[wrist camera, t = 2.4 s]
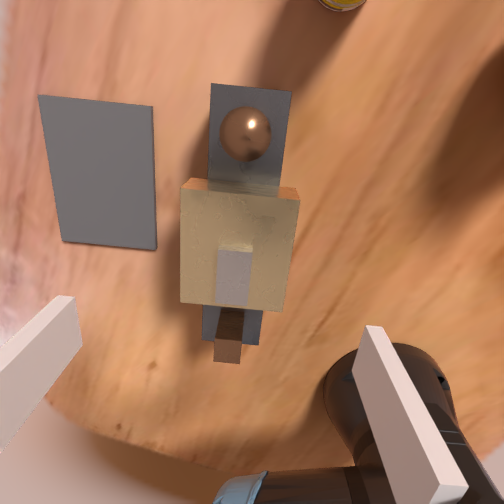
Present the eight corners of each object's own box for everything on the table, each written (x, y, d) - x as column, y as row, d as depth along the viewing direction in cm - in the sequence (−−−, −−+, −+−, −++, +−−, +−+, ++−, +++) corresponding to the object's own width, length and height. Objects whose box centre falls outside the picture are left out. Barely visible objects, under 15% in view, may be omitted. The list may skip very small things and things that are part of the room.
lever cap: (280, 289, 28) (282, 318, 24) (189, 280, 28) (177, 308, 24) (295, 188, 24) (301, 203, 20) (191, 177, 24) (177, 190, 20)
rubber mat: (157, 247, 34) (155, 250, 34) (65, 238, 34) (61, 240, 34) (152, 106, 29) (150, 106, 28) (41, 94, 28) (37, 94, 28)
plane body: (259, 304, 37) (257, 377, 27) (212, 299, 37) (193, 371, 27) (285, 95, 28) (297, 88, 18) (222, 89, 28) (200, 78, 18)
